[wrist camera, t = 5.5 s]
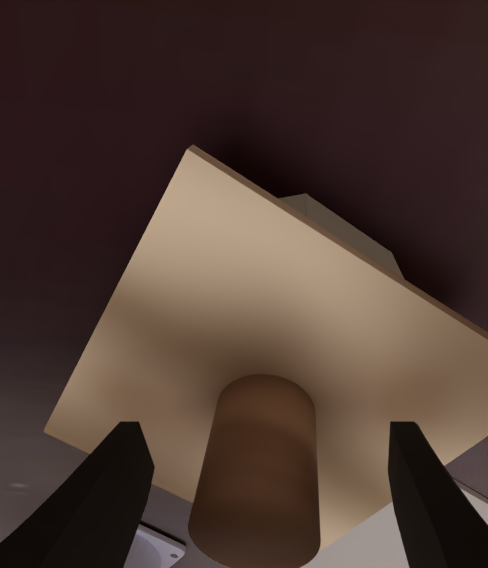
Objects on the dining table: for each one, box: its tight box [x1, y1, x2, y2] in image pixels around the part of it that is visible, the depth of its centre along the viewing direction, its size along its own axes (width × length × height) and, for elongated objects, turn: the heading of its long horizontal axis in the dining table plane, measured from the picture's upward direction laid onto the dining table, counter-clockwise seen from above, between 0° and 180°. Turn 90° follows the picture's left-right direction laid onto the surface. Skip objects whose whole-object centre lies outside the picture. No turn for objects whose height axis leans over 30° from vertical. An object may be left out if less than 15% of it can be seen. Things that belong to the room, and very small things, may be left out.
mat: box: [300, 479, 488, 568], centre depth 25 cm, size 14×14×1 cm
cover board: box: [43, 145, 488, 568], centre depth 12 cm, size 12×12×5 cm
